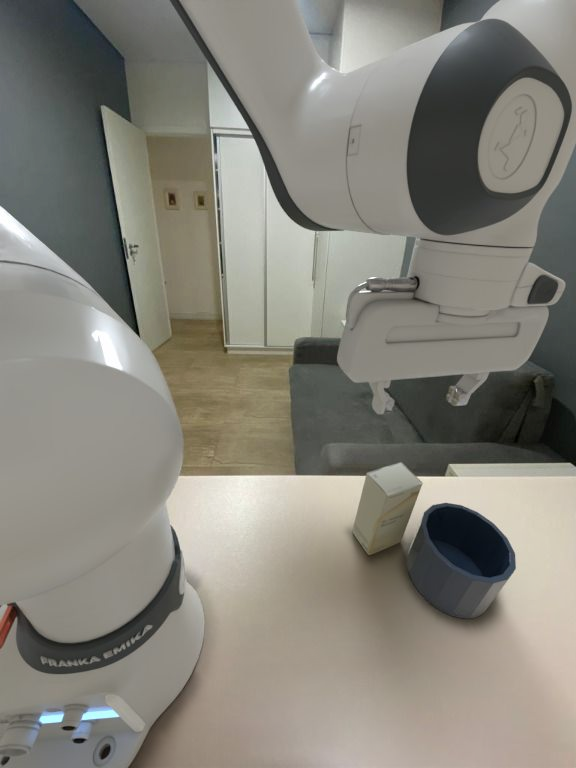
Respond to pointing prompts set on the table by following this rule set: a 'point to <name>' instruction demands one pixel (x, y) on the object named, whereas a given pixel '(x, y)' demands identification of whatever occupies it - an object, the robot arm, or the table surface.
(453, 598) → the blue round bowl
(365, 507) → the cosmetic box
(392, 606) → the table surface
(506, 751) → the table surface
